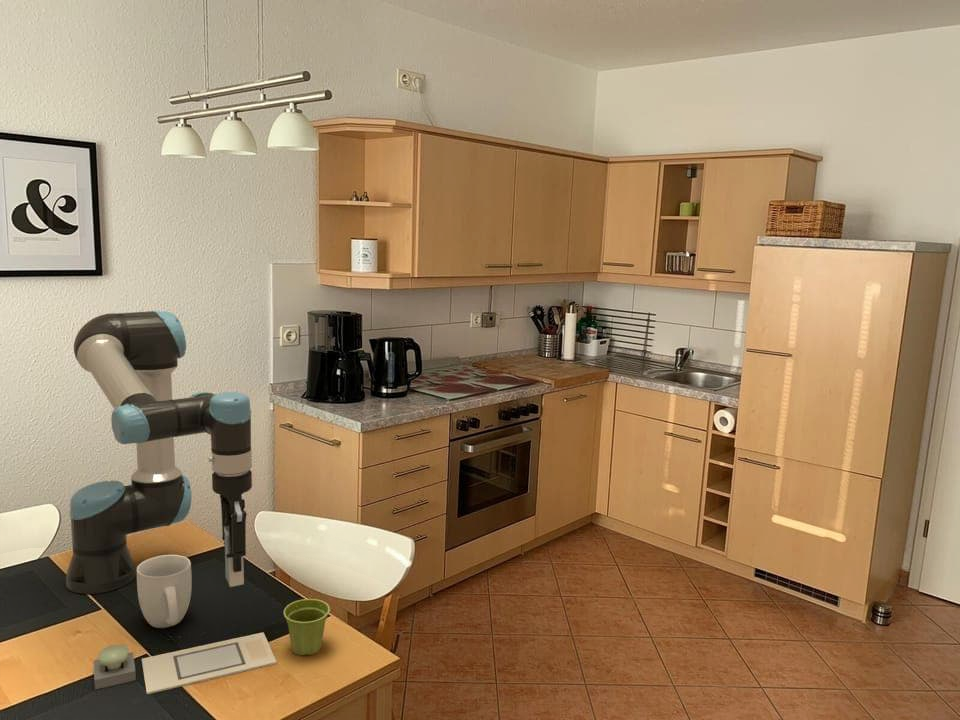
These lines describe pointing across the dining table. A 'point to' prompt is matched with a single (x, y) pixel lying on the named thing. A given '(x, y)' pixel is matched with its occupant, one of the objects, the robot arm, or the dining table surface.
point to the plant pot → (306, 625)
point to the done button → (113, 656)
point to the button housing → (114, 673)
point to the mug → (164, 589)
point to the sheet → (206, 662)
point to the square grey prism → (227, 551)
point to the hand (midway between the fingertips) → (234, 580)
